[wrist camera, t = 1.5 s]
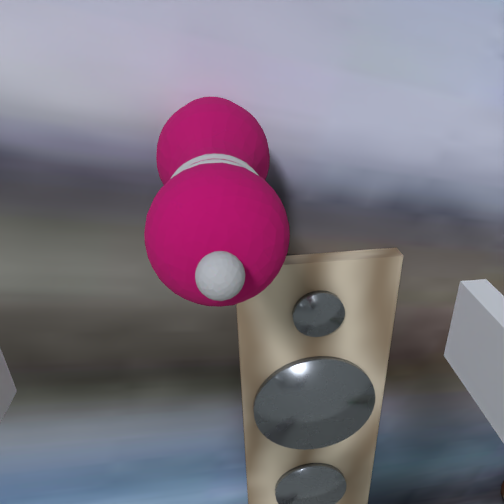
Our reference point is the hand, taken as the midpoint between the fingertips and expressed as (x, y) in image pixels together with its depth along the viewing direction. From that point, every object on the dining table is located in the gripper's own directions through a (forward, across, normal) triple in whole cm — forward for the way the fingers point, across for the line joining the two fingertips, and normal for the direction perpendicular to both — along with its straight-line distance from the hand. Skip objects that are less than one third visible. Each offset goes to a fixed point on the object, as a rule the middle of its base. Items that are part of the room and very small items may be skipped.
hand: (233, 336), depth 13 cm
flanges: (+21, +8, -22) cm, 32 cm away
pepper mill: (+23, 0, 0) cm, 23 cm away
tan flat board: (+23, +8, -28) cm, 37 cm away
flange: (+21, +8, -39) cm, 45 cm away
